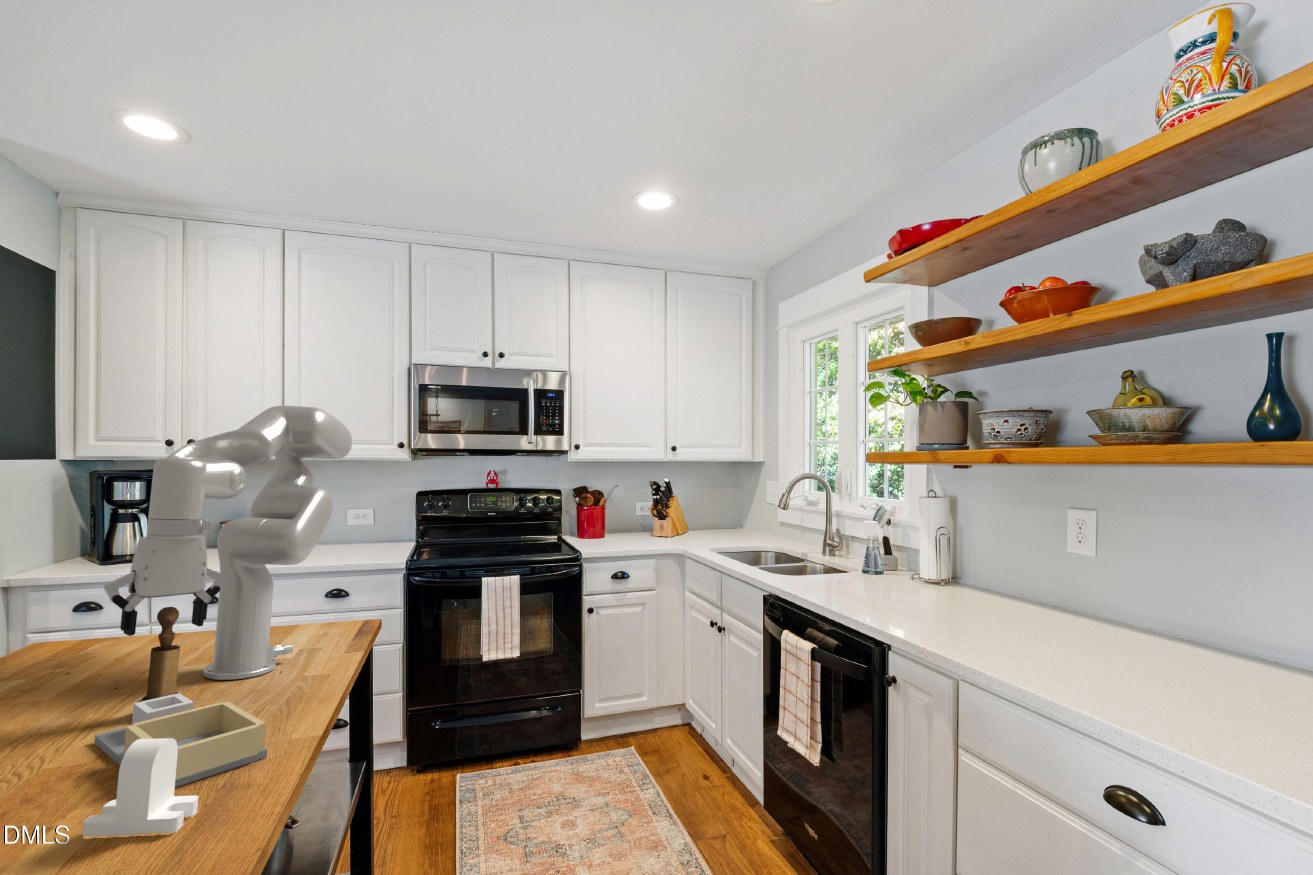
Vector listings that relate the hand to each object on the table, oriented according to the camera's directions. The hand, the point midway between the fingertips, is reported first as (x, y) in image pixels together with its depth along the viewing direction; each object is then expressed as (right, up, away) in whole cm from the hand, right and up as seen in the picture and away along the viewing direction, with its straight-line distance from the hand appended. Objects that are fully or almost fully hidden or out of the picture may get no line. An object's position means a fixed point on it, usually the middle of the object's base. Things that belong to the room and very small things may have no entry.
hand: (164, 629), depth 107 cm
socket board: (+12, -14, -13) cm, 23 cm away
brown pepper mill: (-1, -15, 0) cm, 15 cm away
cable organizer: (+22, -14, -32) cm, 41 cm away
